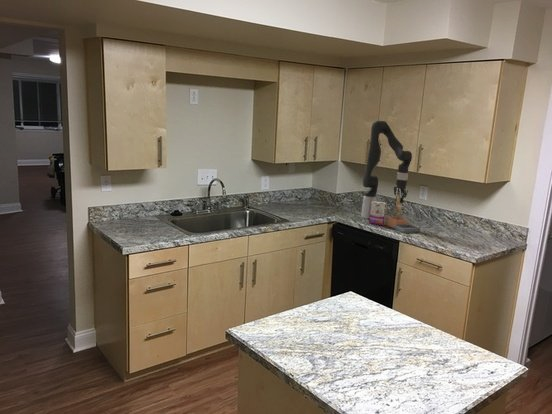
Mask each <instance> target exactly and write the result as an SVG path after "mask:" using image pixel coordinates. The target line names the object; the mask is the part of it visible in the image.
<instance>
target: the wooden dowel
mask: <svg viewBox="0 0 552 414" xmlns="http://www.w3.org/2000/svg"><path fill="white" fill-rule="evenodd" d="M402 196H403V195H402ZM400 198H401V196H400V195H397V202H396V201H395V202H396V204H395V213H394V214H395V215H397V216H399V215H401V214H402V209H403V208H402V207H403V203H400Z"/></svg>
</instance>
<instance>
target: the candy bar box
mask: <svg viewBox="0 0 552 414" xmlns="http://www.w3.org/2000/svg"><path fill="white" fill-rule="evenodd" d="M387 210H388V203H387V202H383V201H376V200H375V201H372V202H371V209H370V219H369V221H368V223H369V224H371V225H376V226H385V225H386V223H387V222H386V220H387Z"/></svg>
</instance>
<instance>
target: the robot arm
mask: <svg viewBox="0 0 552 414" xmlns="http://www.w3.org/2000/svg"><path fill="white" fill-rule="evenodd" d="M370 128H371V130H370V141H369V142H370V143H369V148H368V153H367V154H368V155H367V158H366V159H367V160H366V166H365V171H364V174H363V177H362V178H363V179H362V185H363V187H364V188H368V189H367V190H366V191H364V192H363V201H362V204H361V214H360V216H361V218H363V219H369V220H370V209H371V202H372V201H375V202H376V196H377V193H378V188H379V187H378V186H379V178H378V176H376V175H372V172H373V171H374V169H375V167H376V166H377V165H378V163H379V162H380V160H381V155H382V149H381V145H380V142H379V139H380V134H383V135H384V136H385V137H386V139H387V143H388V146H389V147H390V148H391V150H393V152H394V154H395V156H396V159H397V160H399V161H401V162H402V163H399V164H398V166H397V174H396V180H395V181H396V183H395V185H396V186H393V194H394V196H395V202H397V195H400V196H401V198H400V203H402V204H403V203H404V199H405V198H406V197H407V195H408V193H409V190H408V189H406V187H407V185H408V180H409V179H408V178H409V177H408V176H409V167H410V165H411V162H412V160H413V153H412V152H411V151H410V150H403V149H404V145H403V144H402V143H401V142H400V140H399V139H398V138H397V137H396V135H395V134H394V132H393V131H392V129H391V127H390V125H389V124H388V123H387V122H386V120H375V121H373V122H372V123H371V127H370ZM402 195H403V196H402Z"/></svg>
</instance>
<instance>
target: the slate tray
mask: <svg viewBox="0 0 552 414" xmlns="http://www.w3.org/2000/svg"><path fill="white" fill-rule="evenodd" d="M392 229H393V230H395V231H397V232H400V233H402V234H408V233H409V234H411V233H420V227H418V226H415V225H413V224H411V223H410V224H409V223H407V224H403V225H394V228H392Z"/></svg>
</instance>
